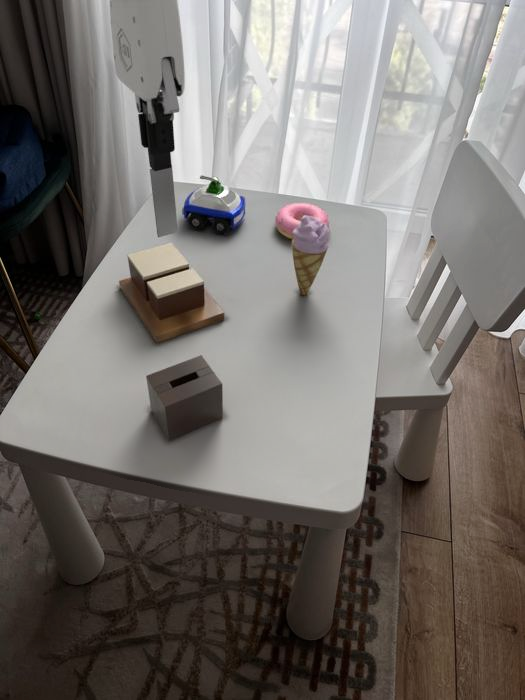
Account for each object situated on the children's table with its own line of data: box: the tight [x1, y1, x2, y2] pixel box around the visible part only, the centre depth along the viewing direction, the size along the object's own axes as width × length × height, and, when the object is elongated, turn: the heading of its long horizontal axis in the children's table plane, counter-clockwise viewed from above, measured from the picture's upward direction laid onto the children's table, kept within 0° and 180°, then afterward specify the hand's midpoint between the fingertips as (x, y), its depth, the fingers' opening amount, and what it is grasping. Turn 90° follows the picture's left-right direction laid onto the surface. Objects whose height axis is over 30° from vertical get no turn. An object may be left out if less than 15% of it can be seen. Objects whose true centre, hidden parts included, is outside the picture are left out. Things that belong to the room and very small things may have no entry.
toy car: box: [181, 174, 246, 236], centre depth 107 cm, size 9×12×10 cm
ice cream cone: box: [291, 215, 331, 296], centre depth 89 cm, size 7×6×15 cm
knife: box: [142, 101, 179, 238], centre depth 69 cm, size 3×2×18 cm, turn 121°
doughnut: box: [274, 202, 331, 241], centre depth 108 cm, size 11×11×4 cm
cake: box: [126, 242, 190, 301], centre depth 90 cm, size 8×7×5 cm
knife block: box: [145, 354, 224, 442], centre depth 71 cm, size 8×6×7 cm
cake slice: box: [147, 268, 205, 320], centre depth 86 cm, size 8×4×5 cm, turn 121°
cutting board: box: [118, 276, 225, 344], centre depth 90 cm, size 12×16×2 cm
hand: (158, 148), depth 67 cm, fingers closed on knife, 1 cm apart
